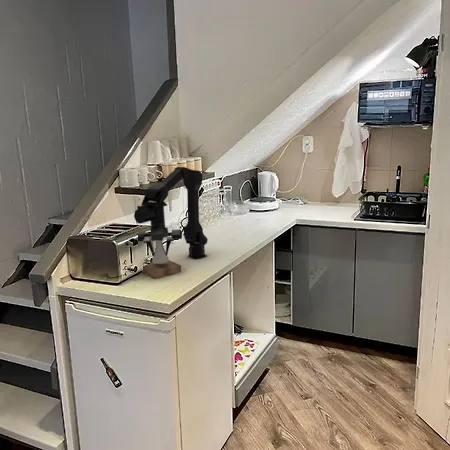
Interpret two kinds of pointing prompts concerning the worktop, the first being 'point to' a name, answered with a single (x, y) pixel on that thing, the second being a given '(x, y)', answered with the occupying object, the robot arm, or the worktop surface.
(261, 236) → the worktop surface
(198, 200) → the robot arm
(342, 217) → the worktop surface
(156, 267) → the walnut plinth
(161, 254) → the flask
